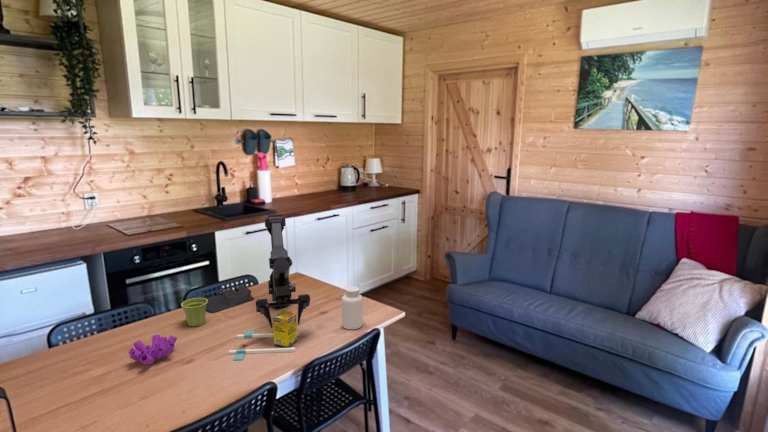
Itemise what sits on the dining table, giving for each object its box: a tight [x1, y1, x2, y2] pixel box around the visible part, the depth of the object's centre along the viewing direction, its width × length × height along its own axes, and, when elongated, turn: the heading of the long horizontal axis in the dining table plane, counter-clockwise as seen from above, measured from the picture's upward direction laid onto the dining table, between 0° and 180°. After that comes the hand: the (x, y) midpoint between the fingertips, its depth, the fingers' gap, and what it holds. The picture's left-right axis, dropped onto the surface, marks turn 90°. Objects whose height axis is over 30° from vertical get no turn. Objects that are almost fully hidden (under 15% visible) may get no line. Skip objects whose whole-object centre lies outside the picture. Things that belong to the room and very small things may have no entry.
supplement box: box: [272, 310, 298, 348], centre depth 149 cm, size 6×6×11 cm
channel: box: [228, 330, 300, 362], centre depth 149 cm, size 22×20×1 cm
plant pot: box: [180, 297, 208, 327], centre depth 164 cm, size 9×9×9 cm
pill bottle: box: [341, 286, 364, 330], centre depth 162 cm, size 8×8×15 cm
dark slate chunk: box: [206, 284, 255, 314], centre depth 185 cm, size 15×22×5 cm
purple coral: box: [128, 334, 178, 365], centre depth 139 cm, size 11×15×10 cm
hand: (285, 326), depth 147 cm, fingers open, 9 cm apart
